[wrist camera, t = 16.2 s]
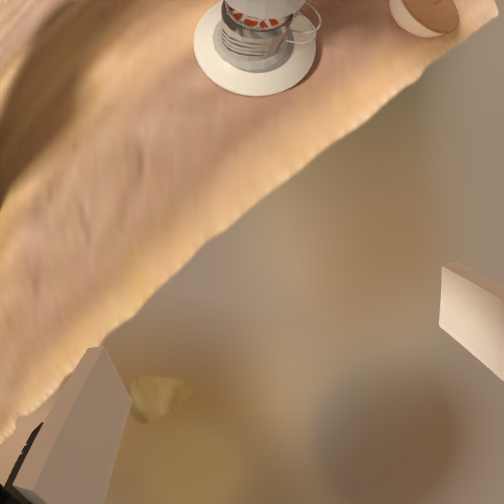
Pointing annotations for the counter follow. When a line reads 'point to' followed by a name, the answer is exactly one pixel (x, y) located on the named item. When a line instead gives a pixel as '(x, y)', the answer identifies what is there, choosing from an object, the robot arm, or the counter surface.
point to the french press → (257, 31)
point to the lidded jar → (425, 16)
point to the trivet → (258, 80)
